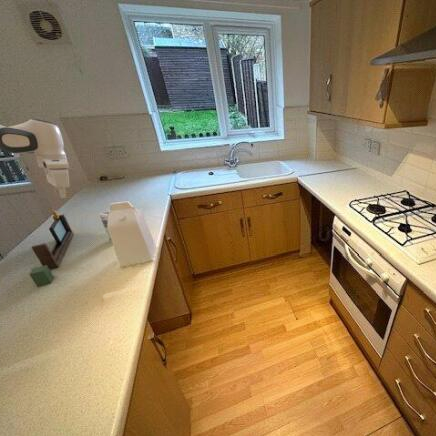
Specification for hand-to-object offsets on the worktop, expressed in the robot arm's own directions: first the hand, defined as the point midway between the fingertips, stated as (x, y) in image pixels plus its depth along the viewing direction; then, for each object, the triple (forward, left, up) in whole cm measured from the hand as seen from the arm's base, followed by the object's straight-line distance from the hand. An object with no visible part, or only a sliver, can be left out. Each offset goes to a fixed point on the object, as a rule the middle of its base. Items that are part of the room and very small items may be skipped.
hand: (60, 195), depth 101 cm
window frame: (-8, -5, -26) cm, 28 cm away
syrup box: (+9, +10, -26) cm, 29 cm away
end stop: (+9, -22, -26) cm, 35 cm away
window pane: (-13, 0, -24) cm, 27 cm away
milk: (+31, 0, -26) cm, 41 cm away
